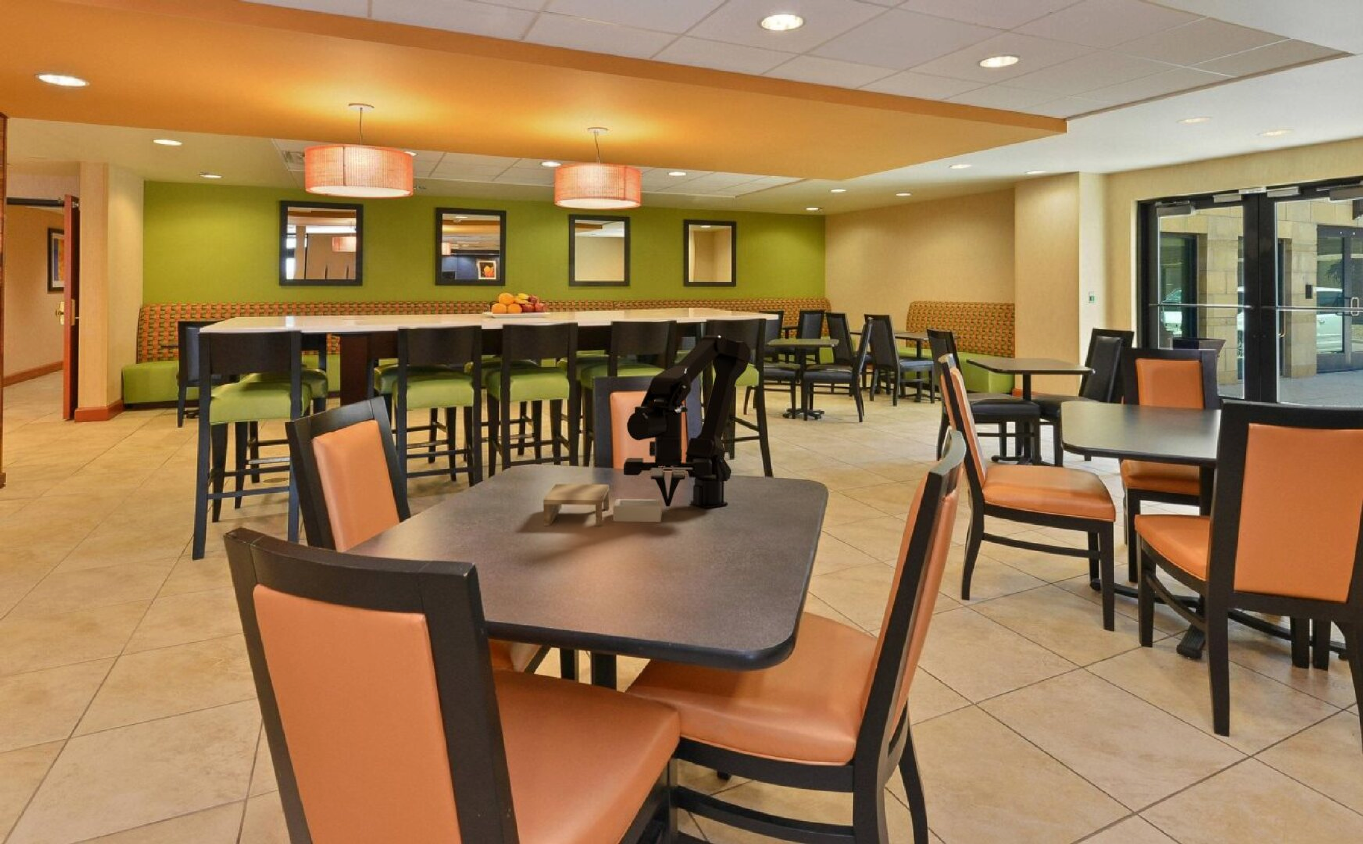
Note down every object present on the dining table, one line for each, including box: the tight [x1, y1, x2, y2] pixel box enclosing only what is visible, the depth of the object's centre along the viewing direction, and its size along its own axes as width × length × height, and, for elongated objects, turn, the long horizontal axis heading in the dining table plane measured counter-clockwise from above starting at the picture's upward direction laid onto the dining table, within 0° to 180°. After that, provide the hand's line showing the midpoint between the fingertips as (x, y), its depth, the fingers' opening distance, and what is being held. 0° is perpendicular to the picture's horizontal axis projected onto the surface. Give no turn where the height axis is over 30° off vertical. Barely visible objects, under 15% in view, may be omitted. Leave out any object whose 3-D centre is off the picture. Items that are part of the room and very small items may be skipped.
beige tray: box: [612, 498, 663, 523], centre depth 167 cm, size 10×6×4 cm, turn 89°
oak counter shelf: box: [542, 483, 610, 527], centre depth 167 cm, size 12×14×6 cm
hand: (667, 506), depth 167 cm, fingers closed
